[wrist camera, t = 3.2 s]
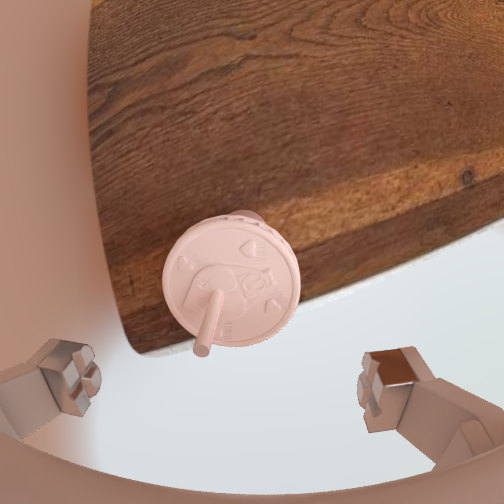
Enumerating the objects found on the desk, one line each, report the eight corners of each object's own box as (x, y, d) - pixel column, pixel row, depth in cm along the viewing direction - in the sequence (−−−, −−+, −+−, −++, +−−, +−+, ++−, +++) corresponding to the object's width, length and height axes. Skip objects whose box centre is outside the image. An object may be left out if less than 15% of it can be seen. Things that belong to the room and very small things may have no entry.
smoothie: (186, 209, 23) (91, 289, 9) (269, 177, 22) (278, 218, 8) (220, 285, 24) (178, 423, 11) (298, 258, 23) (336, 387, 10)
